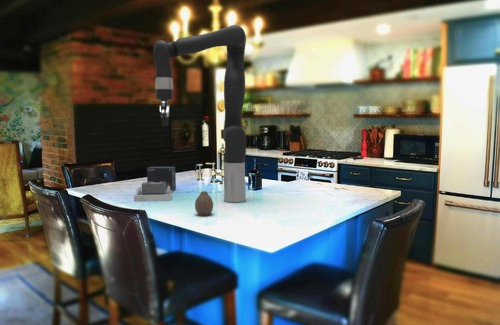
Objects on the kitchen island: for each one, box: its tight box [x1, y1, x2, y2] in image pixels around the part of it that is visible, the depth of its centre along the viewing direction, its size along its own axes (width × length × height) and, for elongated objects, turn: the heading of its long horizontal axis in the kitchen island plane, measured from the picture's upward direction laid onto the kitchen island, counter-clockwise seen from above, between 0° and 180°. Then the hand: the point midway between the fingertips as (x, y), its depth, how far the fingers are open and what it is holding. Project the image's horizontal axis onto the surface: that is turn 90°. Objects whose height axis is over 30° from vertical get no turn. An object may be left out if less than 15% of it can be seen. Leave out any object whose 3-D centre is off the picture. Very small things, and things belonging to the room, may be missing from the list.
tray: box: [133, 186, 173, 202], centre depth 183 cm, size 16×11×5 cm
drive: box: [140, 181, 166, 195], centre depth 183 cm, size 10×6×6 cm, turn 95°
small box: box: [146, 166, 177, 192], centre depth 202 cm, size 13×7×12 cm, turn 84°
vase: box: [194, 191, 214, 217], centre depth 152 cm, size 7×7×9 cm
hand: (165, 125), depth 176 cm, fingers open, 8 cm apart
